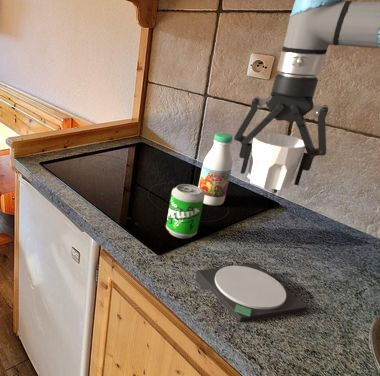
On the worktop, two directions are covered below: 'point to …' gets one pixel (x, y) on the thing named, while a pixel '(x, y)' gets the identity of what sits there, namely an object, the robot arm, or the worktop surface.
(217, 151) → the milk bottle
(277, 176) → the cup
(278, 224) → the worktop surface
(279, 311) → the scale
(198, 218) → the soda can
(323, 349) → the worktop surface
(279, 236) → the worktop surface
